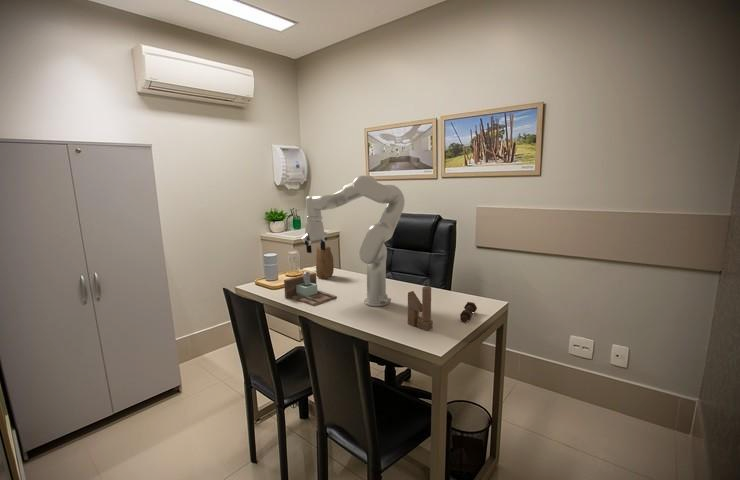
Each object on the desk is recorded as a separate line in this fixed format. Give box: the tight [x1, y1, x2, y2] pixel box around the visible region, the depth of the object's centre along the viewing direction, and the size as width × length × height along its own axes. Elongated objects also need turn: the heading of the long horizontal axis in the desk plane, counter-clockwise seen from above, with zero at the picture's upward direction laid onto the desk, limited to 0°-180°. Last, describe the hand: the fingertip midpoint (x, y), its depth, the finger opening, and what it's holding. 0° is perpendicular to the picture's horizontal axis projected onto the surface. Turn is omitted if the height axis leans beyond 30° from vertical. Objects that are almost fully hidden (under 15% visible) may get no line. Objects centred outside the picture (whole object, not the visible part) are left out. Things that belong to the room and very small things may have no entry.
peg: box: [302, 271, 310, 287], centre depth 193 cm, size 3×3×12 cm
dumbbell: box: [459, 301, 478, 323], centre depth 161 cm, size 6×5×15 cm
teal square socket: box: [296, 283, 319, 297], centre depth 194 cm, size 8×8×5 cm
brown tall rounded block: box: [315, 245, 335, 280], centre depth 231 cm, size 11×8×20 cm
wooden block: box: [407, 285, 434, 332], centre depth 150 cm, size 4×11×18 cm, turn 44°
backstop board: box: [283, 272, 338, 307], centre depth 191 cm, size 24×20×10 cm
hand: (316, 251), depth 192 cm, fingers open, 9 cm apart
